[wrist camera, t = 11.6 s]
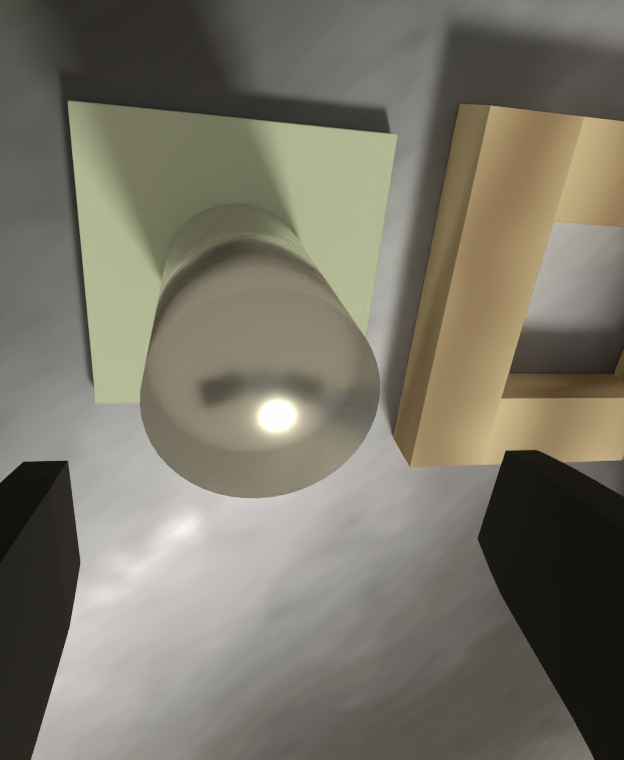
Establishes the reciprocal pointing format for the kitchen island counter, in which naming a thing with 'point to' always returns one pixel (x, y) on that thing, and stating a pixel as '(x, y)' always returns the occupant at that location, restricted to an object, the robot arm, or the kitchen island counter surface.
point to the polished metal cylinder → (253, 360)
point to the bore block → (508, 293)
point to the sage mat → (206, 190)
